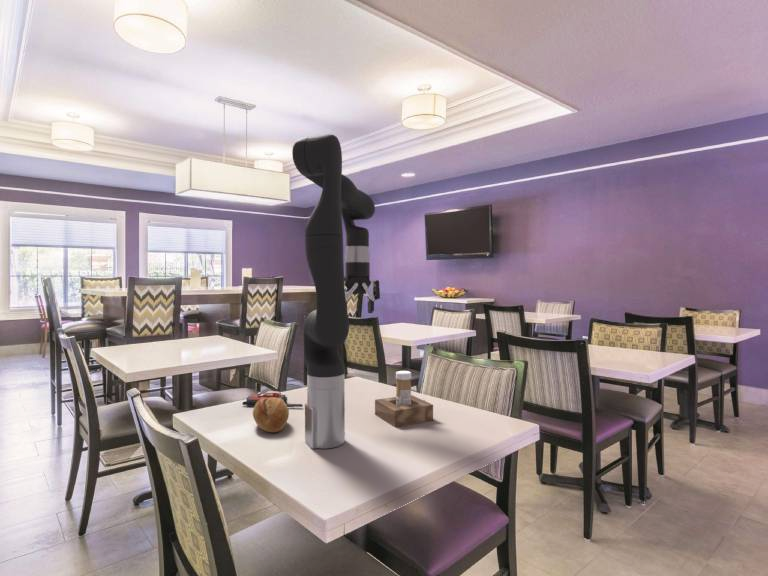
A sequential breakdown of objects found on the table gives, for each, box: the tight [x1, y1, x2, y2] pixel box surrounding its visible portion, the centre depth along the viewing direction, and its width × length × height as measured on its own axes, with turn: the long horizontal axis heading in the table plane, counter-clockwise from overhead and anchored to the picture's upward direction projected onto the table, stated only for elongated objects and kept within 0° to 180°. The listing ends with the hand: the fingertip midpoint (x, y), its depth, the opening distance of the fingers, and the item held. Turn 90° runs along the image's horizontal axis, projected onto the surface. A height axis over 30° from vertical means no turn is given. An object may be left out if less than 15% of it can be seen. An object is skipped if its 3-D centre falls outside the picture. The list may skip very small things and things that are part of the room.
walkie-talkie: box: [242, 390, 303, 408], centre depth 145 cm, size 9×4×20 cm
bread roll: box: [252, 397, 290, 433], centre depth 123 cm, size 10×15×8 cm, turn 20°
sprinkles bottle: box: [395, 370, 412, 407], centre depth 131 cm, size 5×5×14 cm
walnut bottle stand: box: [374, 394, 434, 428], centre depth 131 cm, size 13×13×4 cm
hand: (357, 313), depth 138 cm, fingers open, 8 cm apart
